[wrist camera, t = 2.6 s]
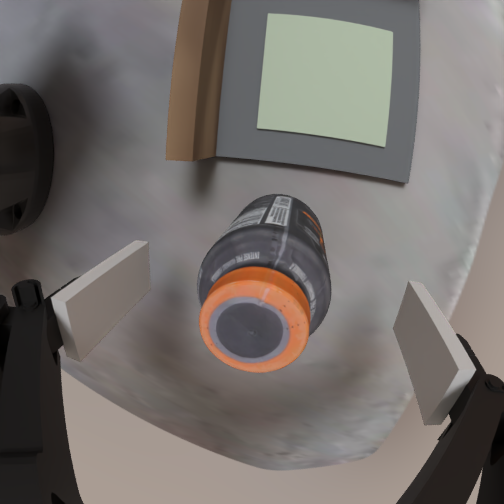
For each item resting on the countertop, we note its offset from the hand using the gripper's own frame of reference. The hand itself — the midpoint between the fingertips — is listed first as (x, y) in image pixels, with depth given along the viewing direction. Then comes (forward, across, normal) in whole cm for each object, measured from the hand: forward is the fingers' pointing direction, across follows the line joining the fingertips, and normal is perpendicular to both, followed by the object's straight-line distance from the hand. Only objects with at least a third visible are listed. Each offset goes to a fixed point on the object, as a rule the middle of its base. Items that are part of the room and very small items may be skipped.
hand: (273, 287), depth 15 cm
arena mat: (+7, 0, +14) cm, 15 cm away
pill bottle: (+7, 0, 0) cm, 7 cm away
